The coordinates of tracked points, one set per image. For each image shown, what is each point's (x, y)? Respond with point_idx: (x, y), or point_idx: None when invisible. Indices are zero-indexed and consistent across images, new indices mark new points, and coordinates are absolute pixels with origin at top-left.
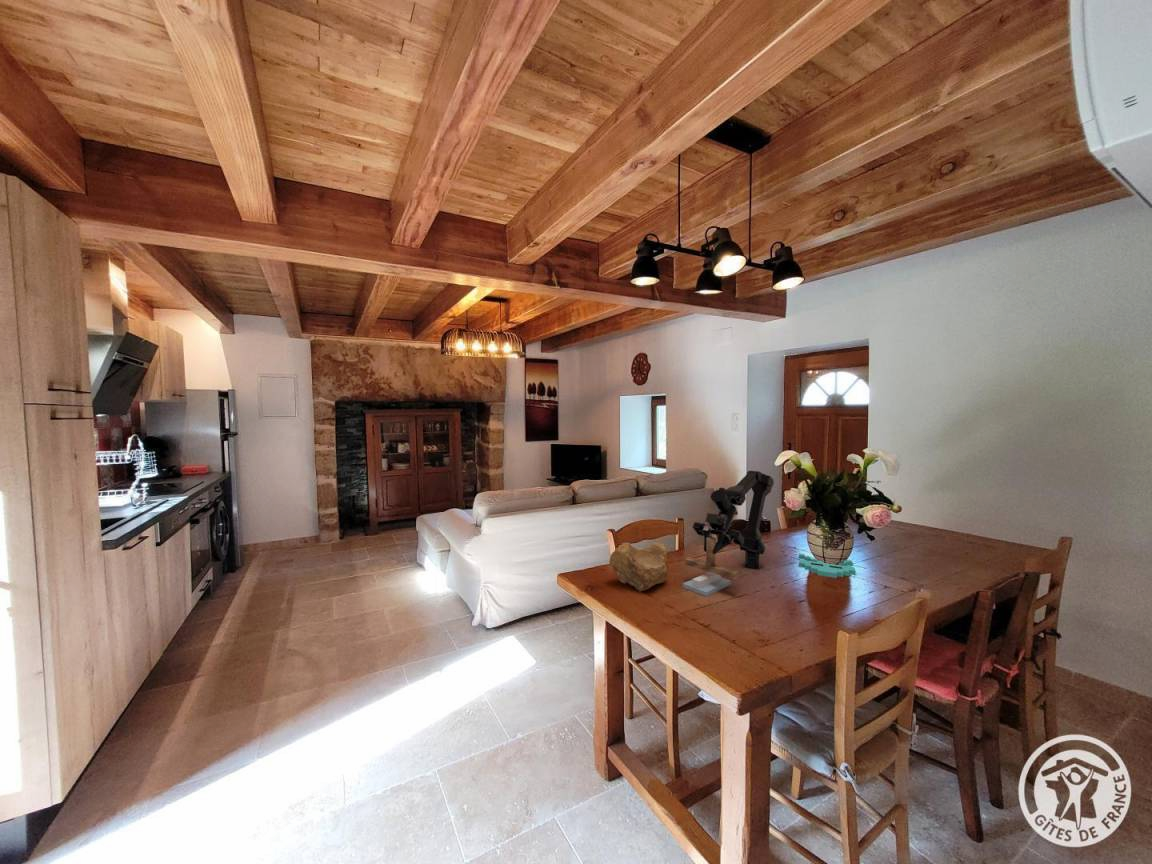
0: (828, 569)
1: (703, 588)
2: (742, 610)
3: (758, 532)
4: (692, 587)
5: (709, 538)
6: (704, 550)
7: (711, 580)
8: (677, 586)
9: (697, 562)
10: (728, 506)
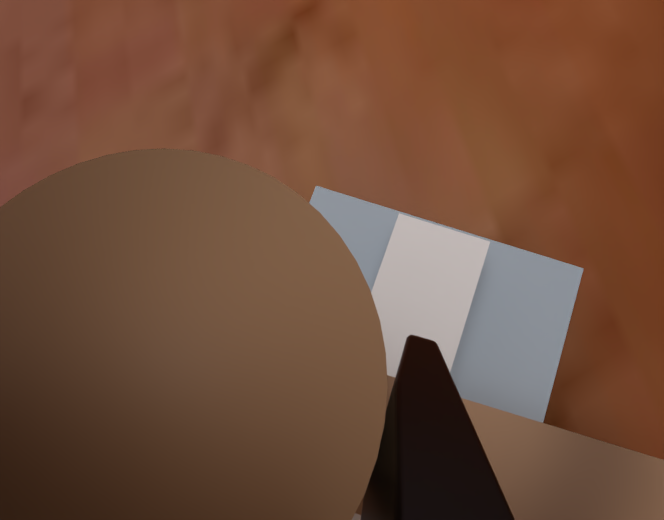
0: None
1: (361, 254)
2: (30, 109)
3: None
4: (464, 232)
5: (214, 326)
6: (416, 338)
7: None
8: (624, 279)
9: (536, 440)
10: None
